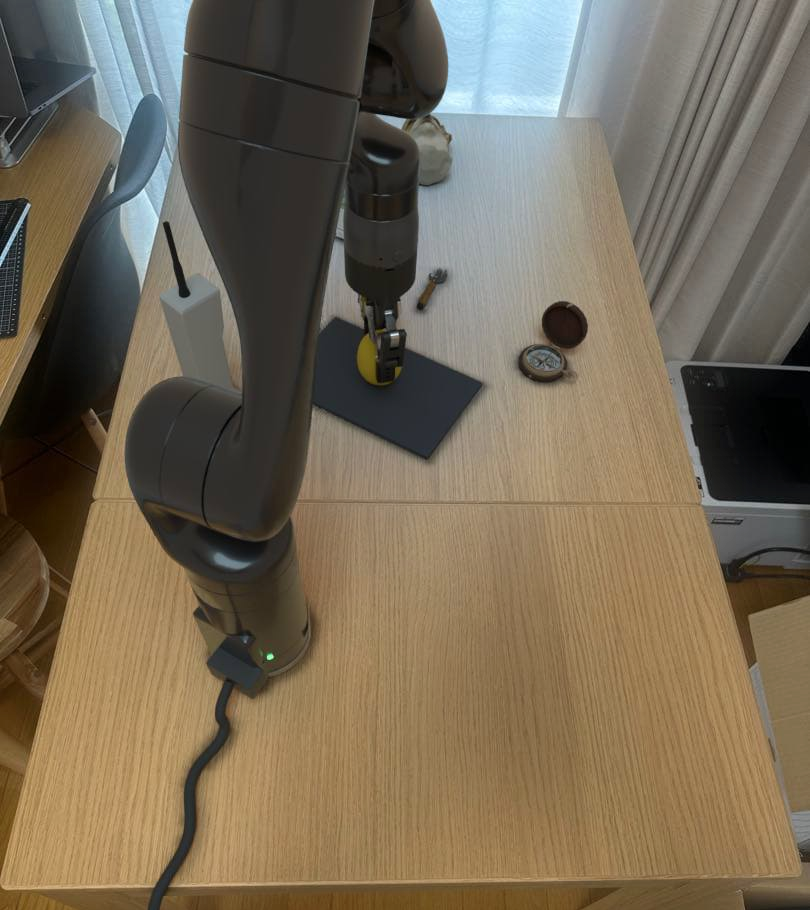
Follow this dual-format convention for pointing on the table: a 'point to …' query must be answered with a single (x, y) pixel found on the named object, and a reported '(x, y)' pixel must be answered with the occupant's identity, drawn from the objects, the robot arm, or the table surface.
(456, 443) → the table surface
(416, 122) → the ceramic sculpture
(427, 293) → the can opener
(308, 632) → the robot arm
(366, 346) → the lemon
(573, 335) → the compass
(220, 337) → the vintage mobile phone
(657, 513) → the table surface
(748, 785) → the table surface
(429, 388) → the mat
